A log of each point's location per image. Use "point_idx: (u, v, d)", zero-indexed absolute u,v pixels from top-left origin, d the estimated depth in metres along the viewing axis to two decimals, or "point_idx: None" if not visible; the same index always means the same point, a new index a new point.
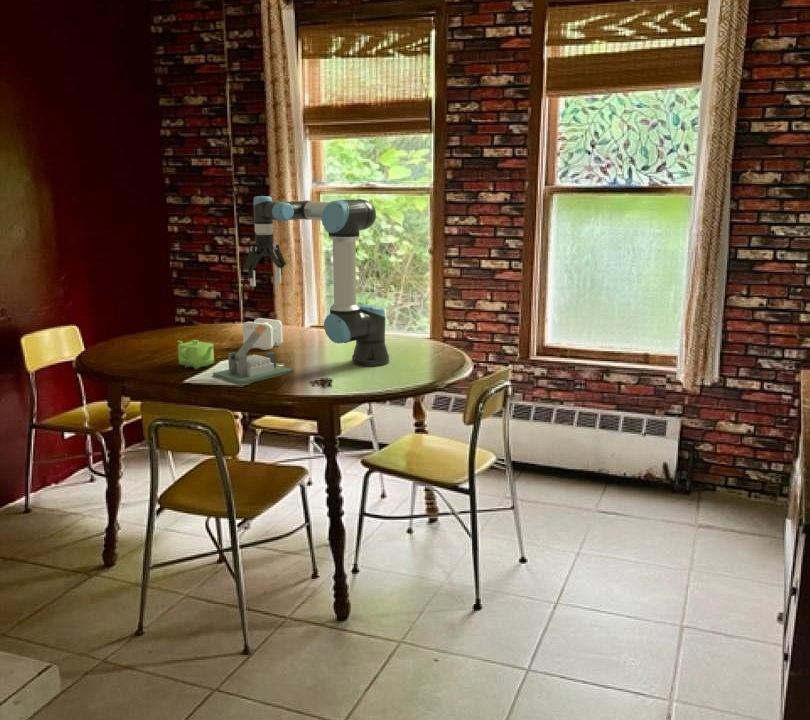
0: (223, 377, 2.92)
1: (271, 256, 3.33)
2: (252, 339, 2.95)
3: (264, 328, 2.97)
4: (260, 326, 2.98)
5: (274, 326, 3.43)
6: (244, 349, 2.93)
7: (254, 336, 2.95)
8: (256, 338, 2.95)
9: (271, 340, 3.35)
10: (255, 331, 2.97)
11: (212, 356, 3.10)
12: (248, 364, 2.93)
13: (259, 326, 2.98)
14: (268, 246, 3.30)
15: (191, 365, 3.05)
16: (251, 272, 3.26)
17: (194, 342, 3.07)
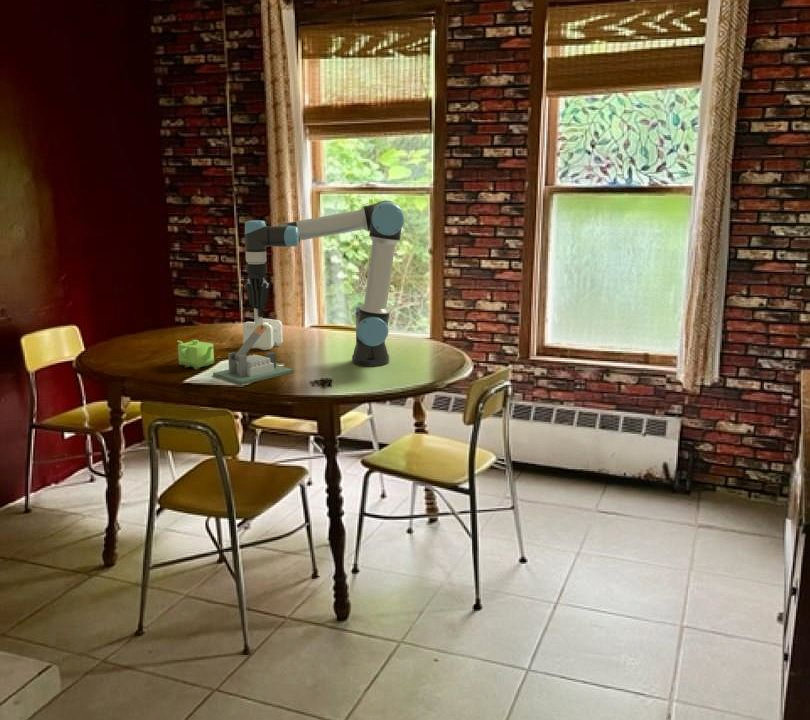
0: (223, 377, 2.92)
1: None
2: (252, 339, 2.95)
3: (264, 328, 2.97)
4: (260, 326, 2.98)
5: (274, 326, 3.43)
6: (244, 349, 2.93)
7: (254, 336, 2.95)
8: (256, 338, 2.95)
9: (271, 340, 3.35)
10: (255, 331, 2.97)
11: (212, 356, 3.10)
12: (248, 364, 2.93)
13: (259, 326, 2.98)
14: (257, 274, 2.90)
15: (191, 365, 3.05)
16: None
17: (194, 342, 3.07)
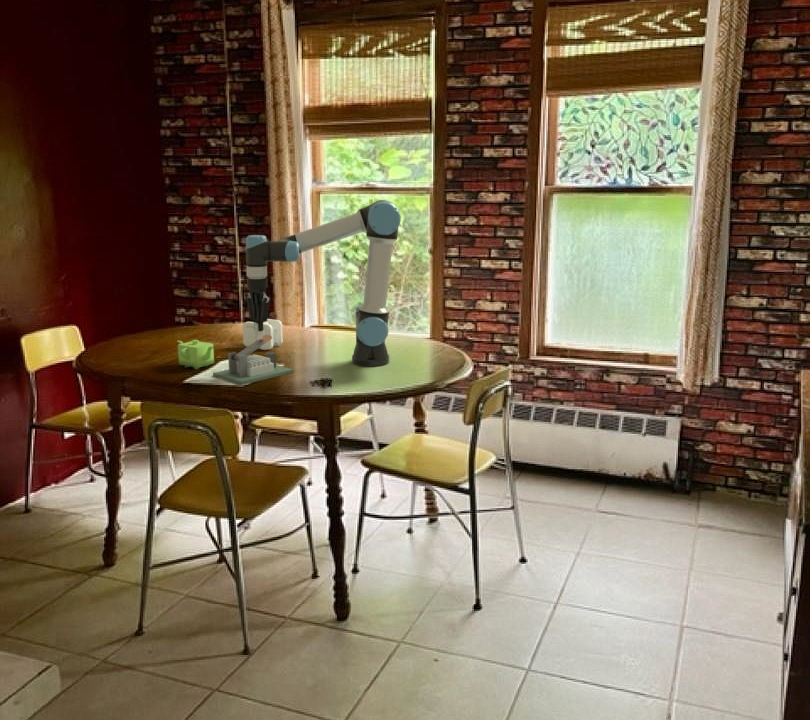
0: (223, 377, 2.92)
1: None
2: (256, 344, 2.96)
3: (270, 338, 3.00)
4: (266, 335, 3.01)
5: (274, 326, 3.43)
6: (246, 351, 2.93)
7: (258, 342, 2.97)
8: (260, 344, 2.97)
9: (271, 340, 3.35)
10: (260, 339, 3.00)
11: (212, 356, 3.10)
12: (248, 364, 2.93)
13: (265, 335, 3.01)
14: (258, 289, 2.92)
15: (191, 365, 3.05)
16: None
17: (194, 342, 3.07)
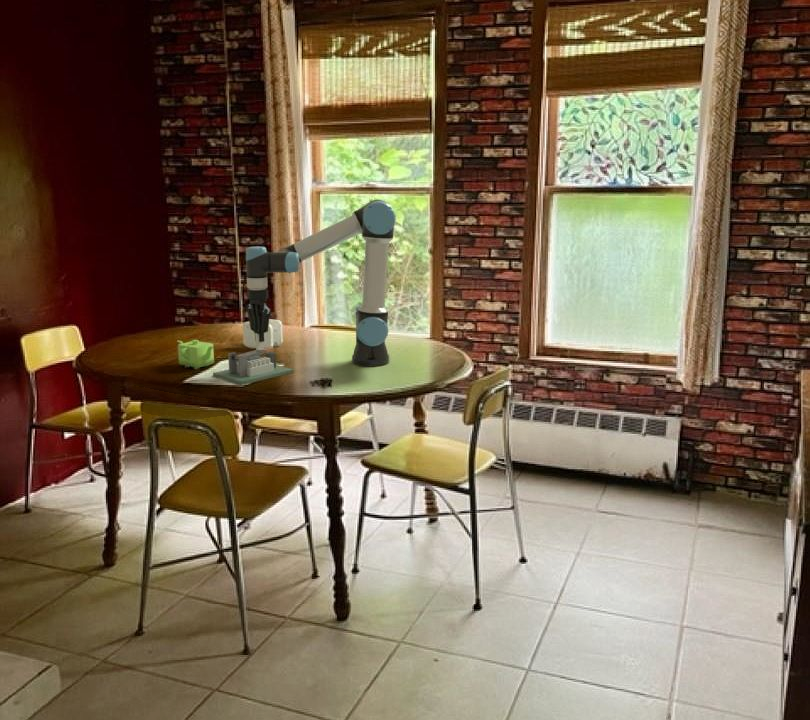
0: (223, 377, 2.92)
1: None
2: (258, 351, 2.98)
3: (272, 349, 3.02)
4: (269, 347, 3.03)
5: (274, 326, 3.43)
6: (247, 354, 2.94)
7: (261, 350, 2.99)
8: (262, 352, 2.98)
9: (271, 340, 3.35)
10: None
11: (212, 356, 3.10)
12: (248, 364, 2.93)
13: (268, 347, 3.03)
14: (258, 300, 2.93)
15: (191, 365, 3.05)
16: None
17: (194, 342, 3.07)
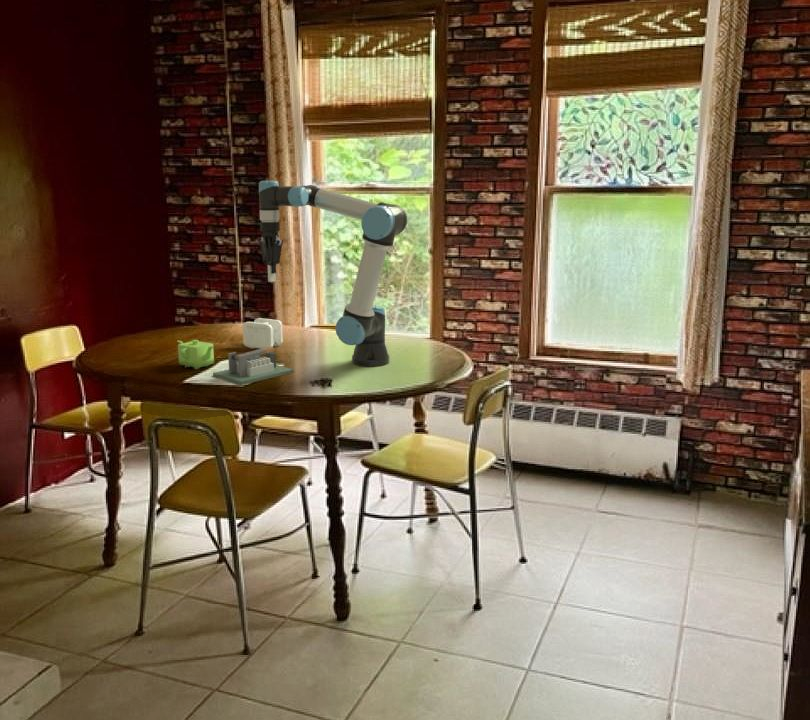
0: (223, 377, 2.92)
1: None
2: (258, 351, 2.98)
3: (272, 349, 3.02)
4: (269, 347, 3.03)
5: (274, 326, 3.43)
6: (247, 354, 2.94)
7: (261, 350, 2.99)
8: (262, 352, 2.98)
9: (271, 340, 3.35)
10: (263, 348, 3.01)
11: (212, 356, 3.10)
12: (248, 364, 2.93)
13: (268, 347, 3.03)
14: (271, 232, 3.05)
15: (191, 365, 3.05)
16: (268, 266, 3.11)
17: (194, 342, 3.07)
